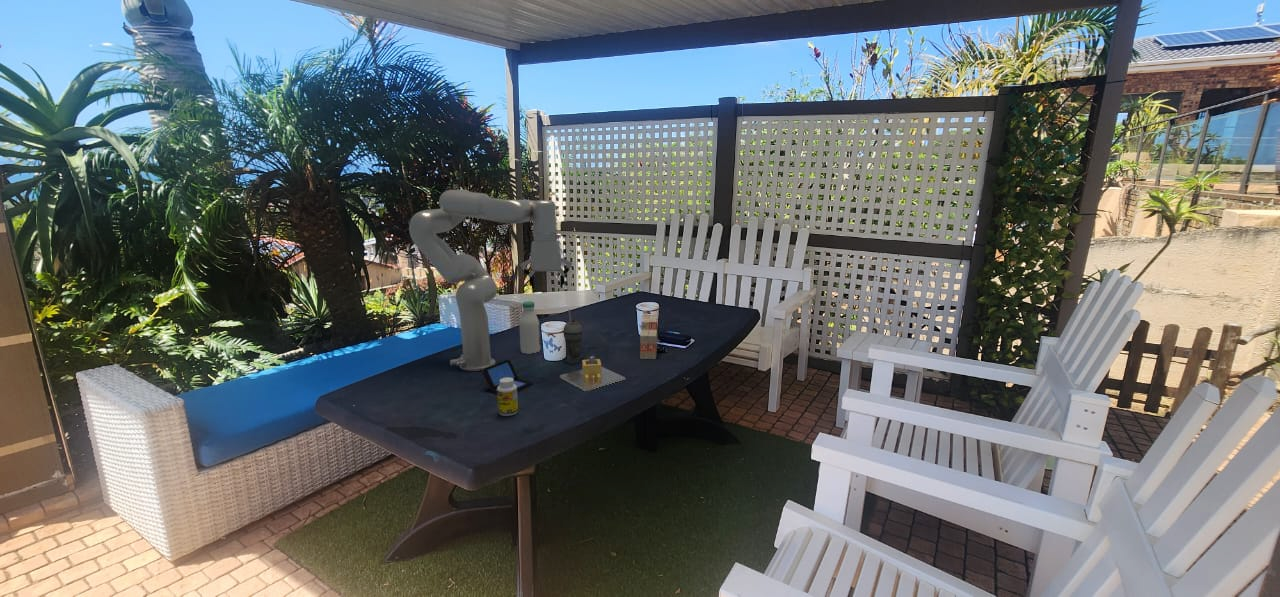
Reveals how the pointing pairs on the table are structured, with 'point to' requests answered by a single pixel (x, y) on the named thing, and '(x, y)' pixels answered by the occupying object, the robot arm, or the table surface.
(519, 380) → the handheld game console
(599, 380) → the yellow hollow square block
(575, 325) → the beverage cup
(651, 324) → the stack of blocks
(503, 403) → the supplement bottle
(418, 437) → the table surface
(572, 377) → the post base
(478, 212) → the robot arm
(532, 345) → the milk bottle
